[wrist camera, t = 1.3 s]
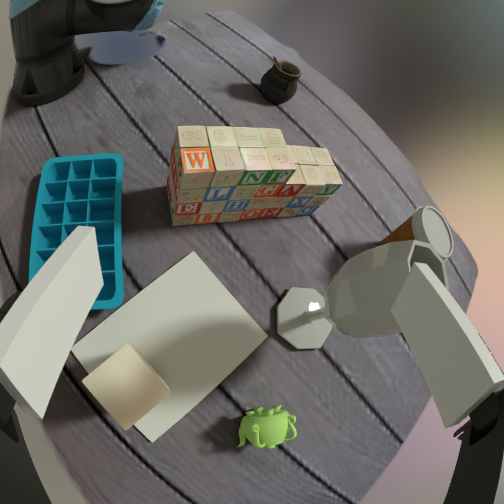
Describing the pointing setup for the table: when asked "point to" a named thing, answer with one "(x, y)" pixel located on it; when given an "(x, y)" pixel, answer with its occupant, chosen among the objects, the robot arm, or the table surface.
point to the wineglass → (355, 296)
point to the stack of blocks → (244, 175)
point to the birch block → (127, 386)
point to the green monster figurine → (266, 427)
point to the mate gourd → (280, 81)
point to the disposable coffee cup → (425, 231)
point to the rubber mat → (177, 338)
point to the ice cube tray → (82, 215)
